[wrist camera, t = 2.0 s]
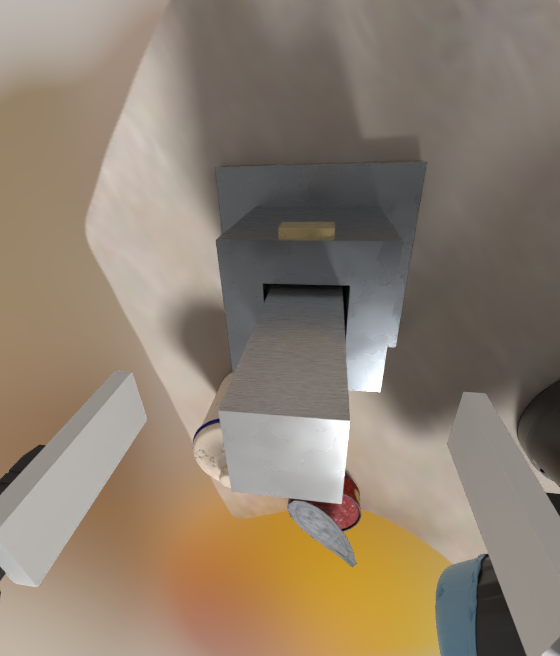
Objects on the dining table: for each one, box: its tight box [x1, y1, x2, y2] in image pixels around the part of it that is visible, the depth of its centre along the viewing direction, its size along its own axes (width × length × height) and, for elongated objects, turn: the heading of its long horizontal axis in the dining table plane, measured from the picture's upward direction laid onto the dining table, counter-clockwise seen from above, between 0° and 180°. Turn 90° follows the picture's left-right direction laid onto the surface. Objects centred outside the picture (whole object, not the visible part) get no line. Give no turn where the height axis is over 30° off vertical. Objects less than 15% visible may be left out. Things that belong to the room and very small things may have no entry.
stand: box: [215, 161, 427, 392], centre depth 25 cm, size 16×16×12 cm
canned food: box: [288, 476, 361, 567], centre depth 44 cm, size 11×10×10 cm
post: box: [218, 284, 350, 504], centre depth 20 cm, size 4×4×20 cm
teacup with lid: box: [193, 372, 233, 487], centre depth 35 cm, size 12×9×12 cm
